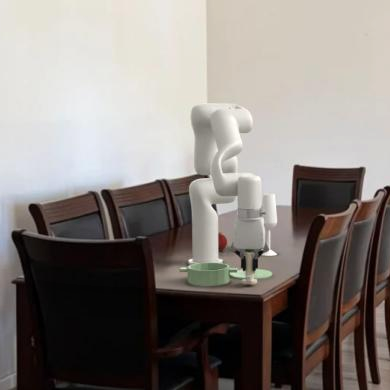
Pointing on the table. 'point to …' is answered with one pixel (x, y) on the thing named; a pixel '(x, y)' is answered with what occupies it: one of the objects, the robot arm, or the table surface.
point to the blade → (249, 269)
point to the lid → (257, 274)
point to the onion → (221, 241)
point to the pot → (208, 273)
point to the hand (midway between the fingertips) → (249, 270)
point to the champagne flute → (269, 217)
